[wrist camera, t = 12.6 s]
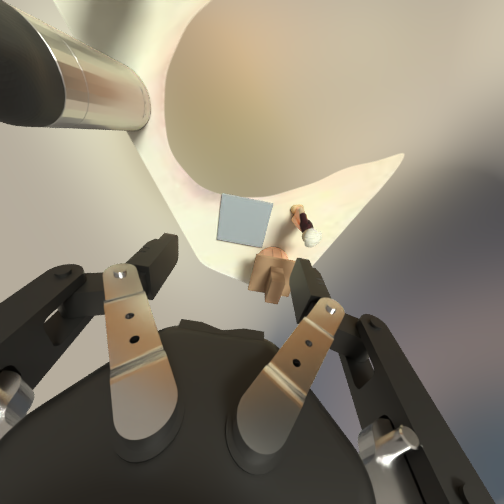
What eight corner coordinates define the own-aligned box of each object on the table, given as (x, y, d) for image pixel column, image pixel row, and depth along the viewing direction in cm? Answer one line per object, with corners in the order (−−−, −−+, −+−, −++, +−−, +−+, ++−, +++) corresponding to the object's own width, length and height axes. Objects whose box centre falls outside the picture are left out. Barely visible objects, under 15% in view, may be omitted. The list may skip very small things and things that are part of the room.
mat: (217, 238, 46) (217, 239, 46) (222, 193, 40) (222, 193, 40) (261, 246, 47) (261, 247, 46) (272, 203, 41) (273, 204, 41)
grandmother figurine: (283, 206, 42) (291, 231, 31) (298, 196, 40) (313, 218, 29) (300, 232, 45) (313, 263, 34) (315, 224, 43) (333, 253, 33)
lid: (248, 287, 46) (246, 305, 41) (256, 253, 41) (256, 269, 36) (287, 294, 47) (290, 313, 42) (300, 262, 42) (306, 278, 37)
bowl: (253, 269, 51) (253, 284, 46) (260, 244, 47) (260, 257, 42) (283, 275, 51) (285, 289, 46) (291, 250, 47) (295, 263, 42)
